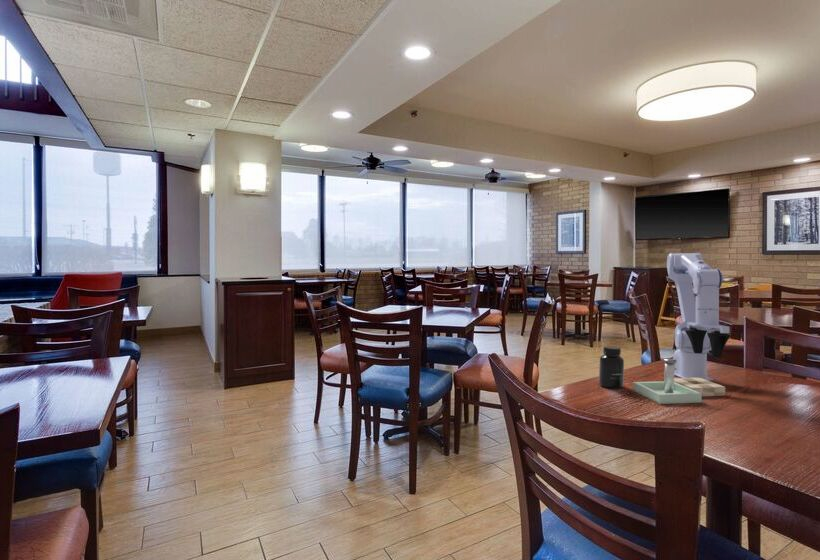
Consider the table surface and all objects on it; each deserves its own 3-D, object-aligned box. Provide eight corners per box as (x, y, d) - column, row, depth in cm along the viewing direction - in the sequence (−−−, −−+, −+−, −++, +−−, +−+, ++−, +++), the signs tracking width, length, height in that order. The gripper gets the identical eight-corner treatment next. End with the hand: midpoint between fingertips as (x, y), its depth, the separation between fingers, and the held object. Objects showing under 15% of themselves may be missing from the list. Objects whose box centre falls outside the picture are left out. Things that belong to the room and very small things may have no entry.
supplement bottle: (617, 390, 128) (618, 350, 127) (595, 385, 133) (595, 347, 133) (627, 386, 133) (627, 347, 132) (605, 381, 138) (605, 344, 137)
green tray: (633, 390, 128) (633, 382, 128) (671, 389, 129) (671, 381, 129) (659, 403, 116) (659, 394, 116) (701, 402, 117) (701, 393, 117)
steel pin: (659, 390, 125) (660, 358, 125) (670, 390, 126) (671, 358, 125) (667, 394, 122) (668, 361, 121) (677, 394, 122) (679, 361, 122)
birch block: (668, 386, 132) (668, 378, 132) (699, 385, 133) (699, 377, 133) (691, 396, 122) (691, 387, 122) (725, 395, 123) (725, 386, 123)
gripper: (677, 308, 135) (677, 351, 135) (712, 310, 121) (712, 359, 120) (699, 308, 135) (699, 351, 135) (736, 310, 121) (736, 359, 121)
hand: (707, 355), depth 128 cm, fingers open, 7 cm apart
